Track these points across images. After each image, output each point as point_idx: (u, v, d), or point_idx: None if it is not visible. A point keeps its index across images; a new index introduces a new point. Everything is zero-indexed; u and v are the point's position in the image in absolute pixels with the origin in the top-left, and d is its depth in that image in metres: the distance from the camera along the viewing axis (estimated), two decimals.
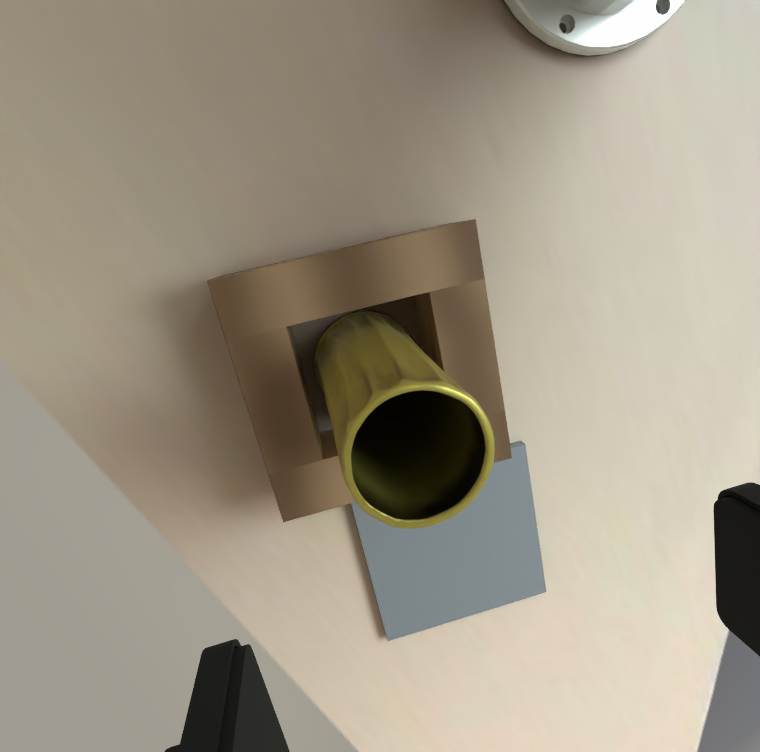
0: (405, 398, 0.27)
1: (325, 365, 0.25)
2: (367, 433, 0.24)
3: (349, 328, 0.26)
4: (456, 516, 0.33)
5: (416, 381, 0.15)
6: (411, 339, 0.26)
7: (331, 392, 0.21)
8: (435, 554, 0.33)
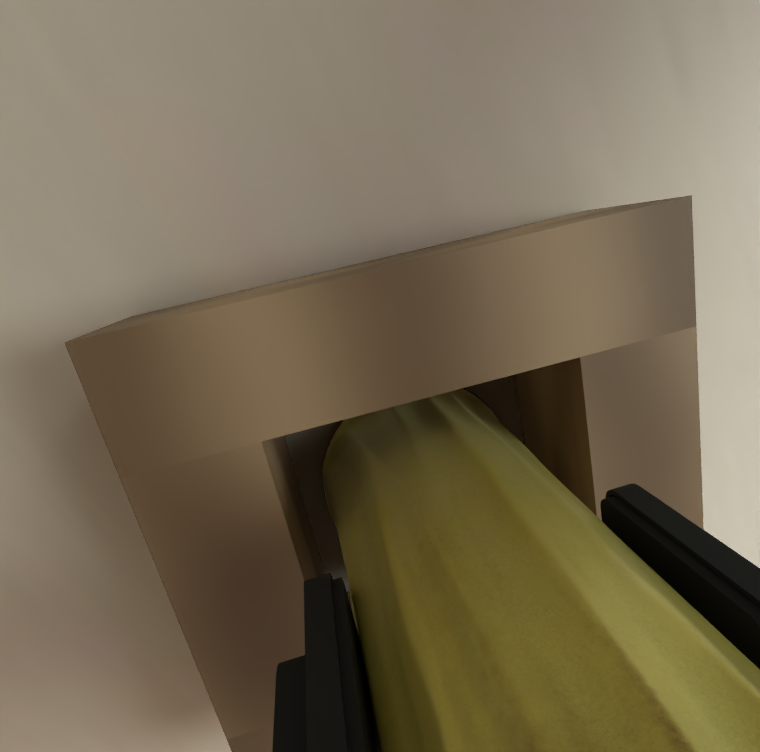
0: None
1: (349, 517, 0.12)
2: None
3: (399, 431, 0.12)
4: None
5: None
6: (534, 457, 0.12)
7: (381, 675, 0.07)
8: None
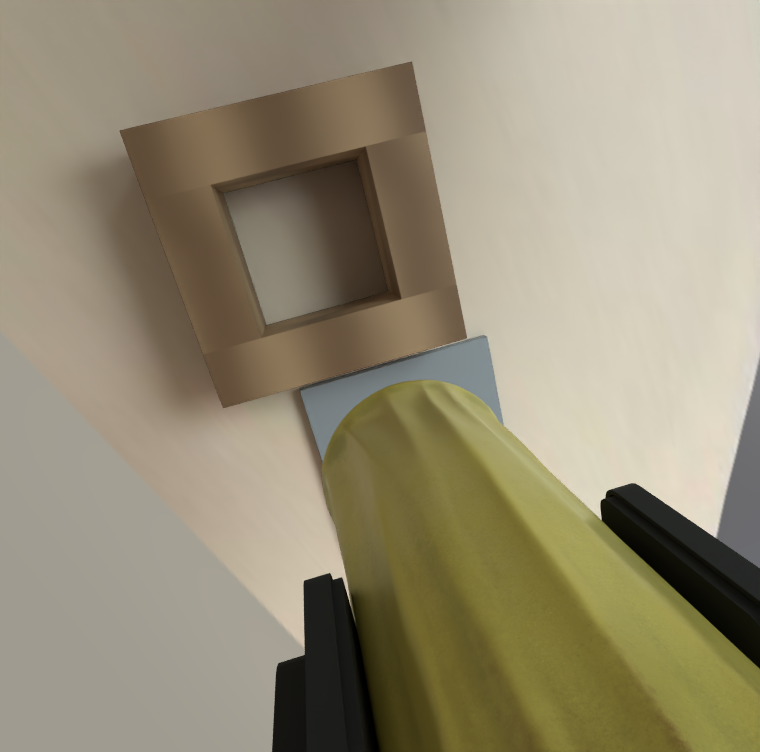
0: None
1: (348, 516, 0.12)
2: None
3: (398, 430, 0.12)
4: None
5: None
6: (533, 456, 0.12)
7: (379, 674, 0.07)
8: None
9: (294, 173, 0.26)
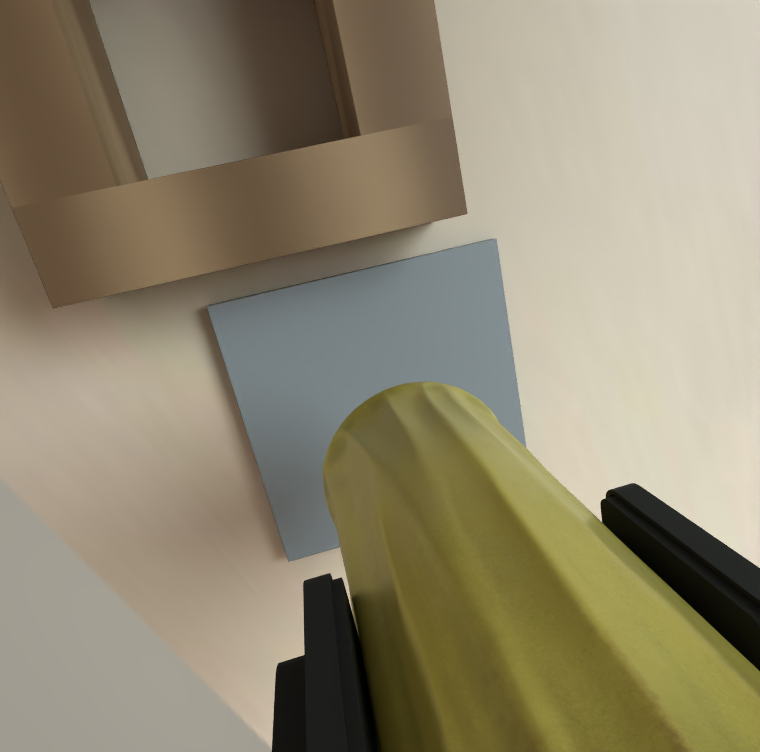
0: None
1: (349, 519, 0.12)
2: None
3: (399, 433, 0.12)
4: (389, 358, 0.21)
5: None
6: (534, 458, 0.12)
7: (381, 678, 0.07)
8: None
9: None
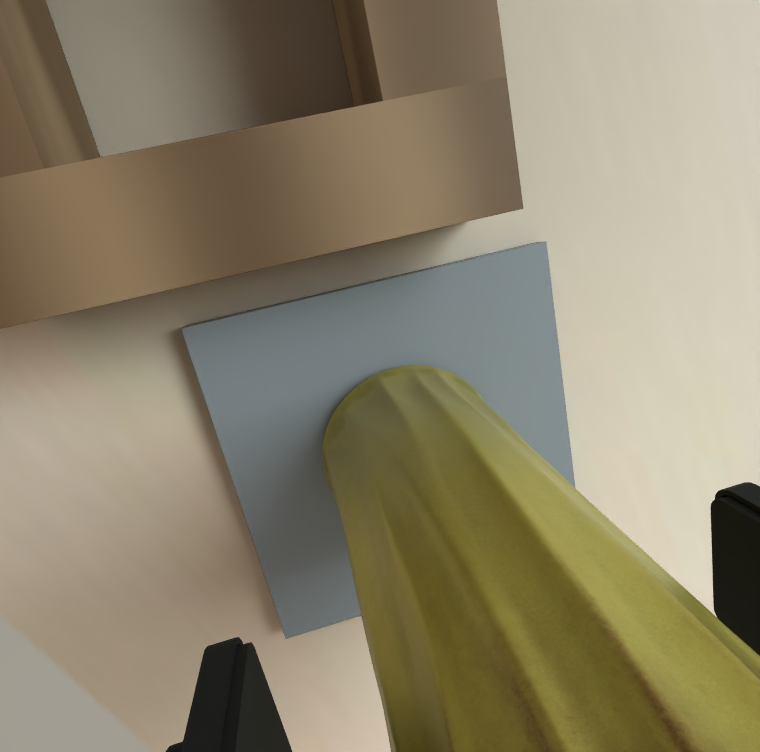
0: None
1: (347, 487, 0.13)
2: None
3: (392, 410, 0.13)
4: None
5: None
6: (514, 432, 0.13)
7: (376, 611, 0.09)
8: None
9: None
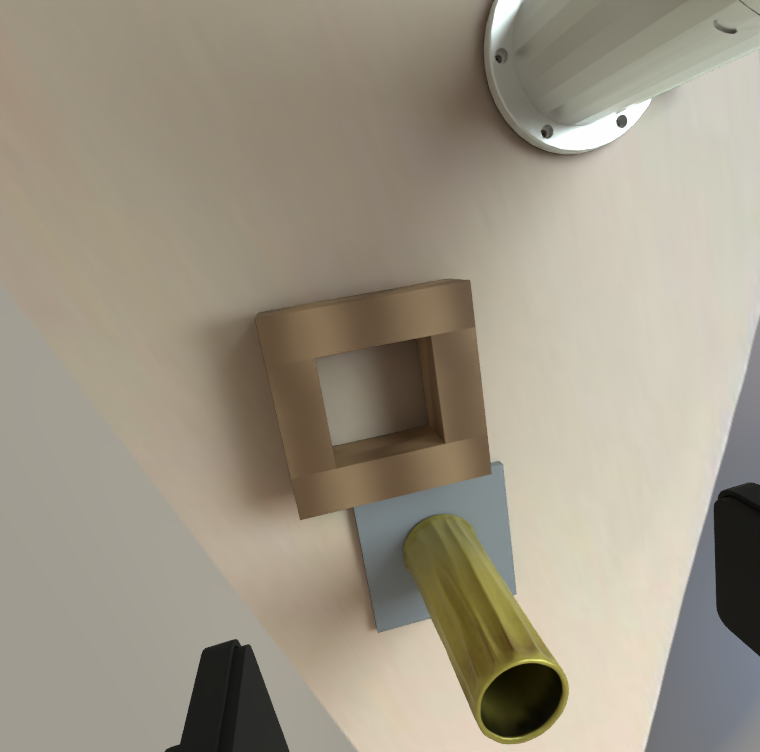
0: None
1: (422, 570, 0.34)
2: None
3: (439, 540, 0.35)
4: None
5: (524, 656, 0.24)
6: (484, 551, 0.35)
7: (440, 615, 0.30)
8: None
9: None
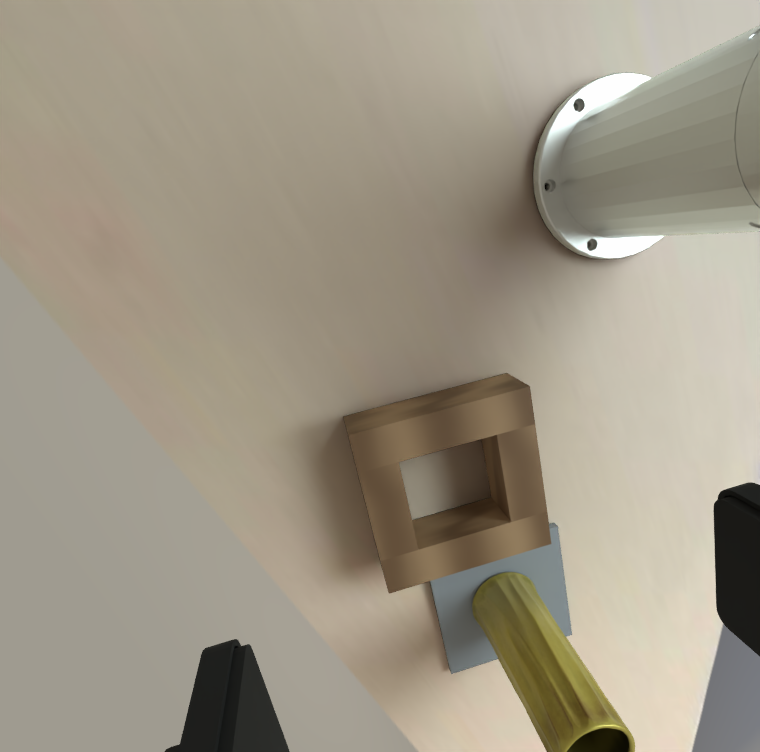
0: None
1: (493, 628, 0.39)
2: None
3: (506, 601, 0.40)
4: None
5: (597, 723, 0.30)
6: (547, 609, 0.40)
7: (517, 675, 0.35)
8: None
9: None
